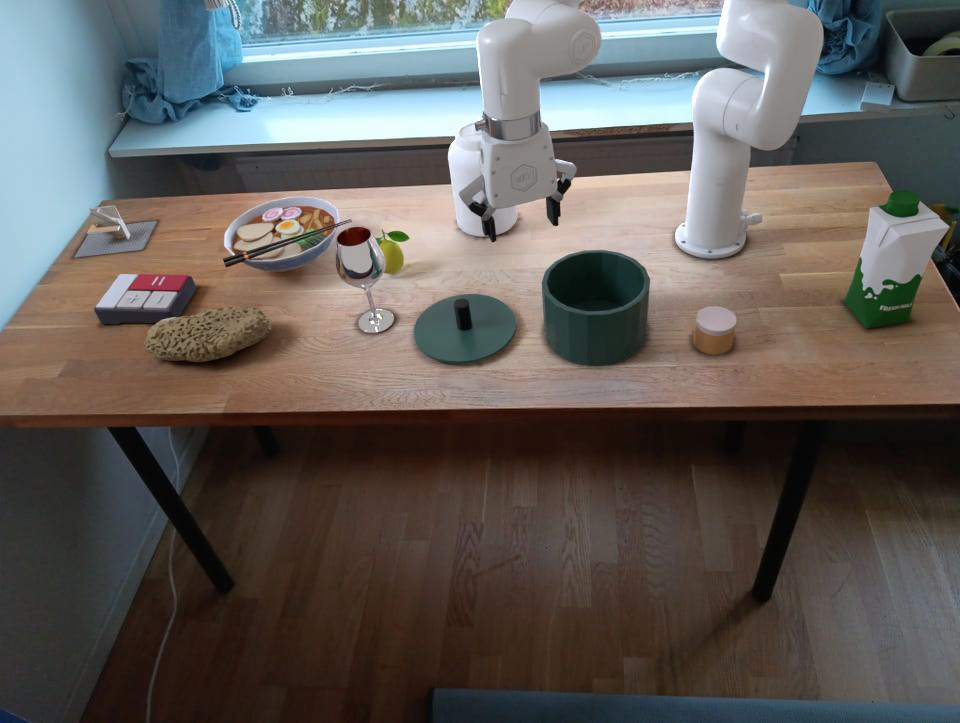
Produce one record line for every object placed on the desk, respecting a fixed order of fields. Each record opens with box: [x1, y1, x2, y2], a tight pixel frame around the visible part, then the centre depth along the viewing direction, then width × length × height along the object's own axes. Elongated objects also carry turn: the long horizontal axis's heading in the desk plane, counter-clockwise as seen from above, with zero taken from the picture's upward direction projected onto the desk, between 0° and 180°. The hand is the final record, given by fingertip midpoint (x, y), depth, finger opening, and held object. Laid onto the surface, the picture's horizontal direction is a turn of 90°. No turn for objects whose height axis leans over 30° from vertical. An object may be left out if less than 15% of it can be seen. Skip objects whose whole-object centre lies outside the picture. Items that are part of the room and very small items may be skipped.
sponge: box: [143, 305, 272, 363], centre depth 125 cm, size 13×8×20 cm
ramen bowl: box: [222, 195, 353, 272], centre depth 143 cm, size 25×23×8 cm
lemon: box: [374, 229, 411, 275], centre depth 135 cm, size 7×6×10 cm
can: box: [447, 121, 519, 238], centre depth 142 cm, size 12×12×20 cm
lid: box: [413, 293, 517, 365], centre depth 122 cm, size 18×18×6 cm
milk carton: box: [843, 189, 951, 330], centre depth 110 cm, size 9×9×20 cm
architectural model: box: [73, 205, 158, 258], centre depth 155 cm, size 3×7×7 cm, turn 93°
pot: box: [541, 249, 651, 367], centre depth 117 cm, size 17×17×11 cm
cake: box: [692, 305, 738, 356], centre depth 114 cm, size 6×6×5 cm
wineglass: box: [335, 225, 395, 334], centre depth 122 cm, size 8×8×18 cm
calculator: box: [93, 273, 197, 326], centre depth 137 cm, size 11×4×15 cm
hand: (522, 229), depth 108 cm, fingers open, 9 cm apart
